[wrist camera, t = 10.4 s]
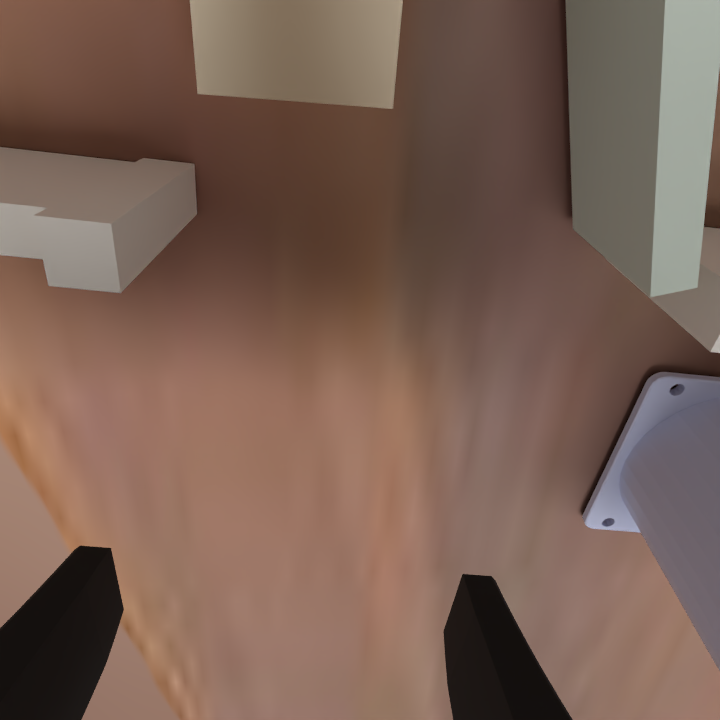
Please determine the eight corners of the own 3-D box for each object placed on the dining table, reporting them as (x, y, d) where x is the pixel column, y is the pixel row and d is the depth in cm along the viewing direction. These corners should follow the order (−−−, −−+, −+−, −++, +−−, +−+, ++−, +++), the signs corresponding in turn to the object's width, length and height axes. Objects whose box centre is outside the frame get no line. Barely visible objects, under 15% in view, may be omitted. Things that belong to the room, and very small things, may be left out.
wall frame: (806, 233, 16) (1007, 319, 11) (781, 277, 17) (959, 376, 12) (-70, 133, 15) (-295, 180, 10) (-55, 186, 16) (-255, 255, 11)
